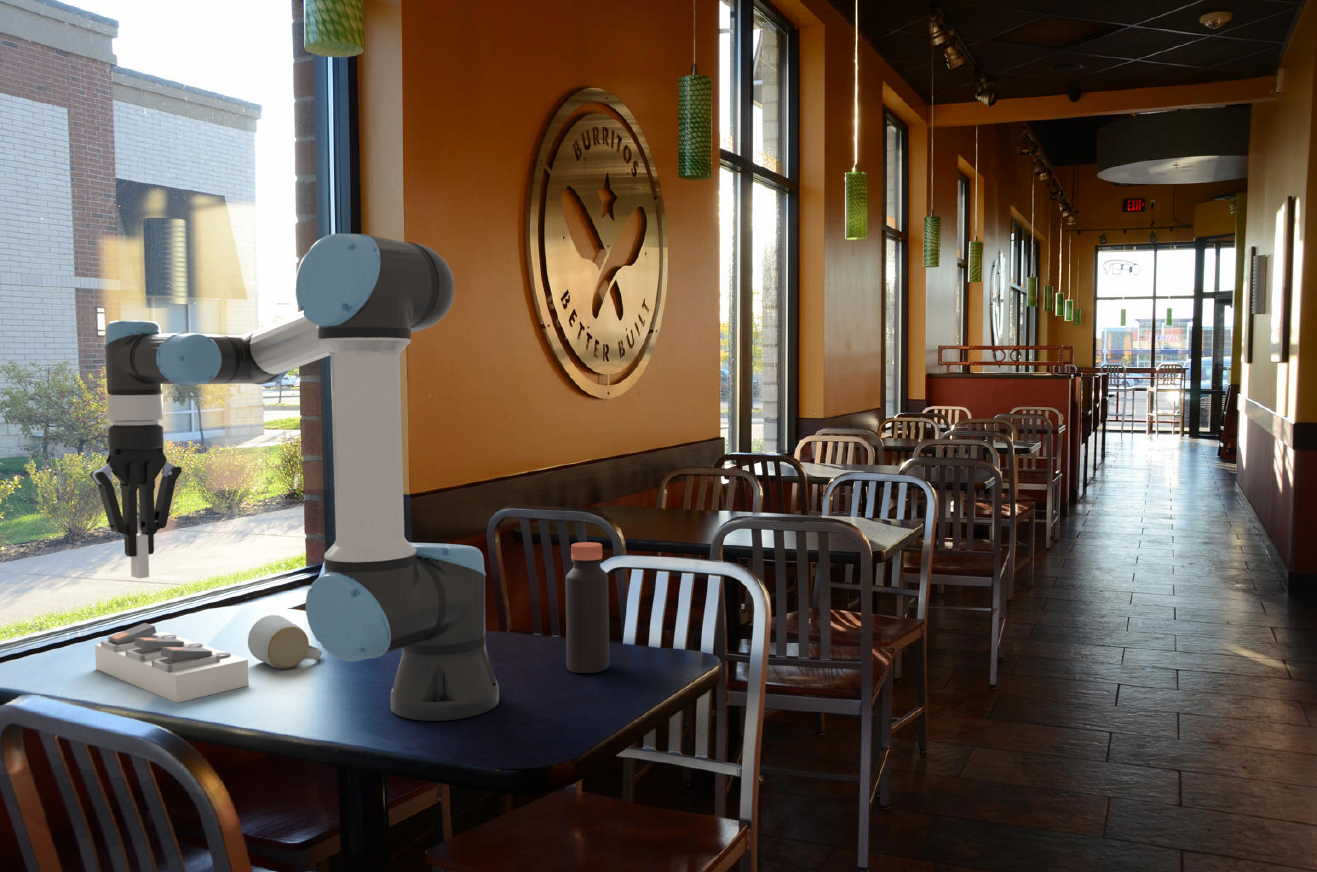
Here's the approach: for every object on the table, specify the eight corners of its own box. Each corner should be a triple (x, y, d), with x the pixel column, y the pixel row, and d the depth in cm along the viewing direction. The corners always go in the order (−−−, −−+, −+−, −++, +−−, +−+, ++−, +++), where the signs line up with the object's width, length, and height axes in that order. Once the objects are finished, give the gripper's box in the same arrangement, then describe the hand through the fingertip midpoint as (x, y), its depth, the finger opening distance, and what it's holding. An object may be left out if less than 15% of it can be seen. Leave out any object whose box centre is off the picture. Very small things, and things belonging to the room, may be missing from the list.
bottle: (608, 674, 165) (607, 547, 164) (565, 675, 165) (563, 548, 164) (610, 662, 172) (608, 540, 170) (568, 663, 172) (566, 541, 170)
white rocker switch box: (248, 685, 161) (247, 653, 160) (176, 702, 152) (175, 669, 152) (164, 654, 179) (163, 626, 178) (96, 668, 170) (94, 638, 170)
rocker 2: (210, 659, 159) (212, 650, 159) (171, 659, 155) (173, 650, 155) (199, 655, 161) (201, 646, 162) (160, 655, 157) (162, 646, 157)
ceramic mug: (268, 674, 166) (268, 626, 166) (247, 664, 172) (246, 618, 172) (331, 662, 174) (331, 616, 173) (308, 653, 180) (308, 608, 179)
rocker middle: (182, 649, 165) (184, 641, 165) (144, 649, 160) (145, 640, 161) (172, 645, 167) (173, 637, 167) (134, 645, 163) (135, 637, 163)
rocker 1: (156, 632, 171) (154, 625, 170) (119, 647, 166) (117, 640, 166) (146, 629, 173) (144, 622, 173) (109, 644, 169) (107, 636, 168)
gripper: (167, 420, 168) (171, 567, 169) (80, 423, 158) (85, 579, 159) (189, 422, 163) (193, 573, 164) (101, 425, 153) (106, 586, 154)
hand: (140, 576), depth 162 cm, fingers closed
